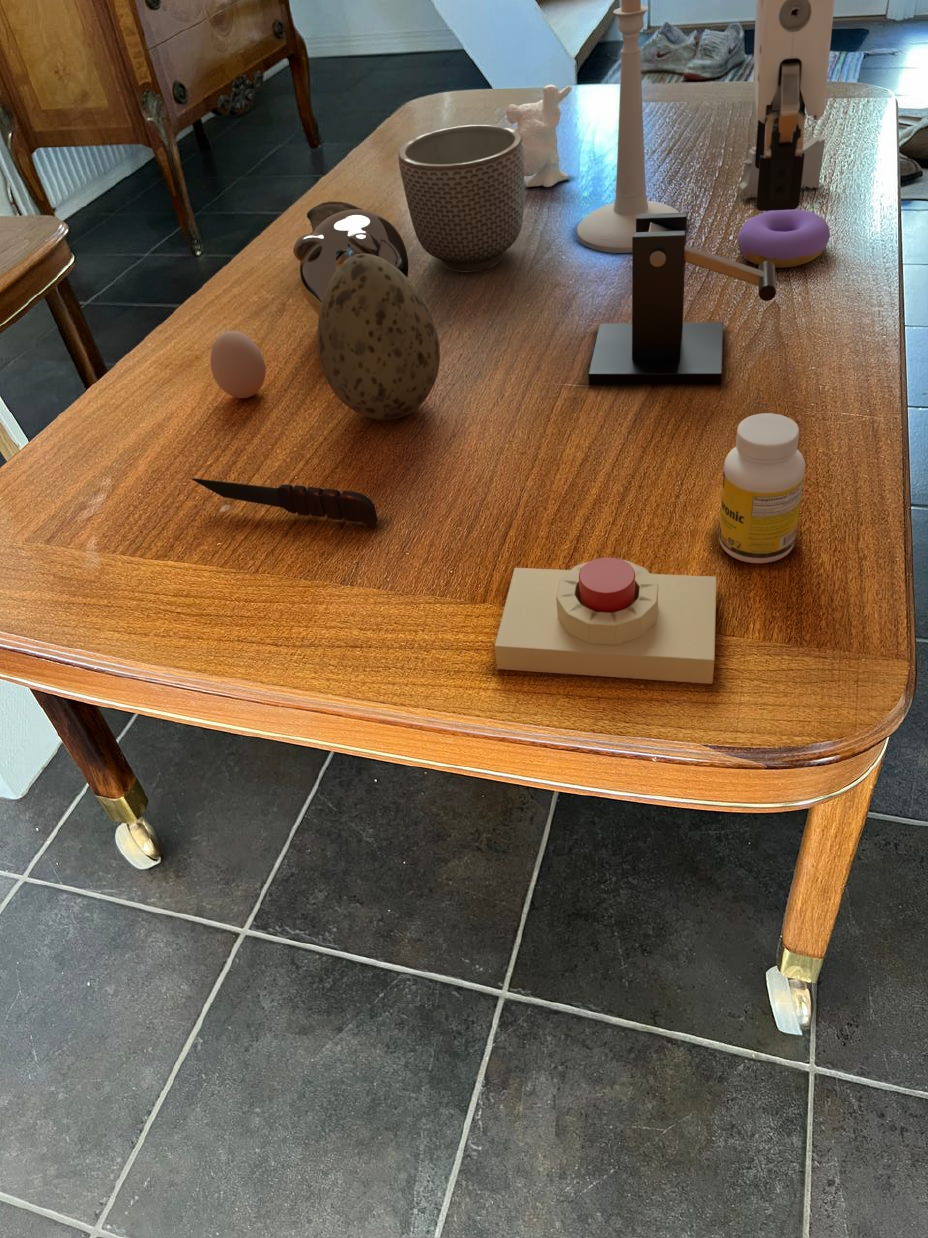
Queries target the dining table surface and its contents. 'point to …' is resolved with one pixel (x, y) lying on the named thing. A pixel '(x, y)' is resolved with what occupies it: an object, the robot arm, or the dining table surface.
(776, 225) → the donut
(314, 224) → the seashell
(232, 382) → the egg
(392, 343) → the decorative egg
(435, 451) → the dining table surface
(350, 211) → the piggy bank
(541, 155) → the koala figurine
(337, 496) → the knife
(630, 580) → the button
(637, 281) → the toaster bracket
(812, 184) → the grey flat notched piece
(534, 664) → the power block
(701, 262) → the lever
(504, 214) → the planter
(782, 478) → the supplement bottle
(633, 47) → the candlestick
